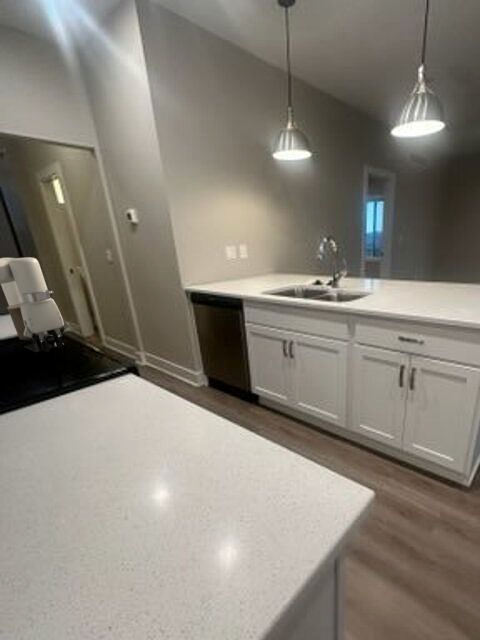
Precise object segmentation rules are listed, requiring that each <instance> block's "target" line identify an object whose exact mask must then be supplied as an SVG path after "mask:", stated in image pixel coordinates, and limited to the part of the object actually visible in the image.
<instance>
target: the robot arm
mask: <svg viewBox="0 0 480 640" xmlns="http://www.w3.org/2000/svg"><path fill="white" fill-rule="evenodd" d="M41 268H42V267H41V265H40V262H39V260H38V259H37V258H35V257H29V256H28V257H19V258H18V257H17V258H16V257H1V258H0V285H1V284H3V283H9V282H13V281H15V282H16V285H17V288H18V290H19V293H20V296H21V299H22V301H23V303H20V308H21V313H22V317H23V321H24V325H25V331H24V334H23V335H24V336H25V337H30V338H34V339H37V340H39V341H40V344H41V347H42V349H43V351H45V353H50V352H51V348H50V349H49V346H48V343H47V341H45V336H43V332H45V331H49V330H50V331H52V332H53V334H54V335H53V336H54V337H55V338H56V345H57V347H56V348H58V349H63V348H64V347H63V346H64V345H63V344H64V342H63V339H62V336H63V334H64V332H65V330H67V329H68V328H69V327H70V324H69V323H68V322H66V320H64V319H63V316H62V314H61V312H60V309H59V307H58V305H57V303H56V302H55V300H54V299H53V298H52V296H54V295H55V293H54V292H55V291H54V290H49V289H48V287H47V284H46V281H45V276H44V274H43V271H42V269H41ZM30 332H32V333H36V335H34V334H30Z"/></svg>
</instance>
